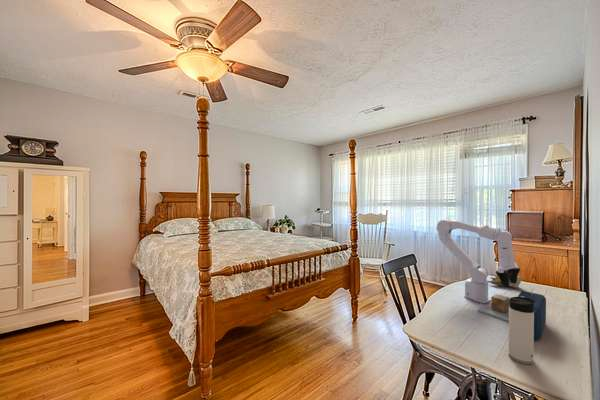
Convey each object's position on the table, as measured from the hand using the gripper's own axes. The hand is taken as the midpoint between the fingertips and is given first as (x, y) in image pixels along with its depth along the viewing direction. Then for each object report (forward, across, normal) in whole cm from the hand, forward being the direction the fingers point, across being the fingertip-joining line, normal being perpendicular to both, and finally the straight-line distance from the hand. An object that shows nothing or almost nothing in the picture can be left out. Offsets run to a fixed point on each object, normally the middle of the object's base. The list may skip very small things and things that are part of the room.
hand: (509, 284), depth 124 cm
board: (+10, -12, 0) cm, 15 cm away
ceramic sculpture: (+10, +28, +15) cm, 33 cm away
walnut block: (+9, -12, 0) cm, 15 cm away
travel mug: (+11, -43, -19) cm, 48 cm away
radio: (+11, -18, -12) cm, 24 cm away
